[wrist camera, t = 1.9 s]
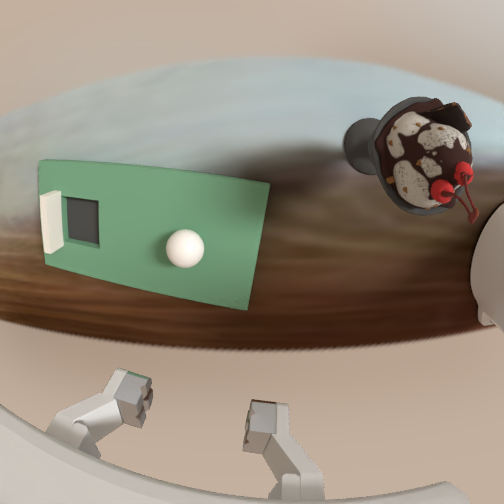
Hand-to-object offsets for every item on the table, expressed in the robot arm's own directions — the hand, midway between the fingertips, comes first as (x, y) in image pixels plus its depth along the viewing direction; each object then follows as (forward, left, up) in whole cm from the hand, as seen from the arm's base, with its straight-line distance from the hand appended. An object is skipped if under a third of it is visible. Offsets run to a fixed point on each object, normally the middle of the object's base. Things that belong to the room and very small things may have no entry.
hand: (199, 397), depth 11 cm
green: (+11, 0, -17) cm, 20 cm away
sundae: (-9, -11, -17) cm, 23 cm away
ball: (+5, 0, -14) cm, 15 cm away
